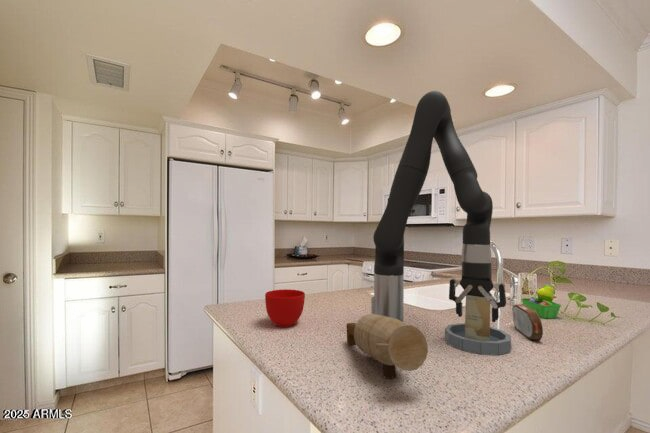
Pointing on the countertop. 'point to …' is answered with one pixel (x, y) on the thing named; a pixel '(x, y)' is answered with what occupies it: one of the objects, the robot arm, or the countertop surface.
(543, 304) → the fruit basket
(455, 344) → the round dish
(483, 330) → the skincare box
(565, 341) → the countertop surface
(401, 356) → the wooden log toy
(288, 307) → the ceramic cup
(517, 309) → the tin
